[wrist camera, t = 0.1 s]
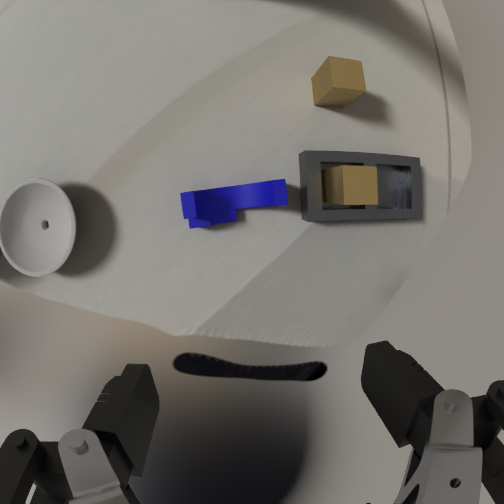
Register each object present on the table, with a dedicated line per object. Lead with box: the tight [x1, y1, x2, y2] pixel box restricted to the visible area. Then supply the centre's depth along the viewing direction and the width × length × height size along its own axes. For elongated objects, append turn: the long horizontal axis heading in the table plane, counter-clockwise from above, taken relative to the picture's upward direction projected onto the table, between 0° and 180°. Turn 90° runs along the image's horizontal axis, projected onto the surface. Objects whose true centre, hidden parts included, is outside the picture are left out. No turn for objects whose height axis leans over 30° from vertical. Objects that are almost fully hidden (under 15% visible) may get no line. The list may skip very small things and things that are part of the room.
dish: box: [0, 178, 76, 277], centre depth 33 cm, size 18×14×5 cm
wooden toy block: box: [311, 56, 366, 108], centre depth 31 cm, size 4×4×8 cm
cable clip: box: [180, 179, 288, 229], centre depth 35 cm, size 12×4×6 cm, turn 97°
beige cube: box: [321, 165, 378, 205], centre depth 33 cm, size 4×4×8 cm
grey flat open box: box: [299, 151, 421, 222], centre depth 36 cm, size 9×18×4 cm, turn 93°
